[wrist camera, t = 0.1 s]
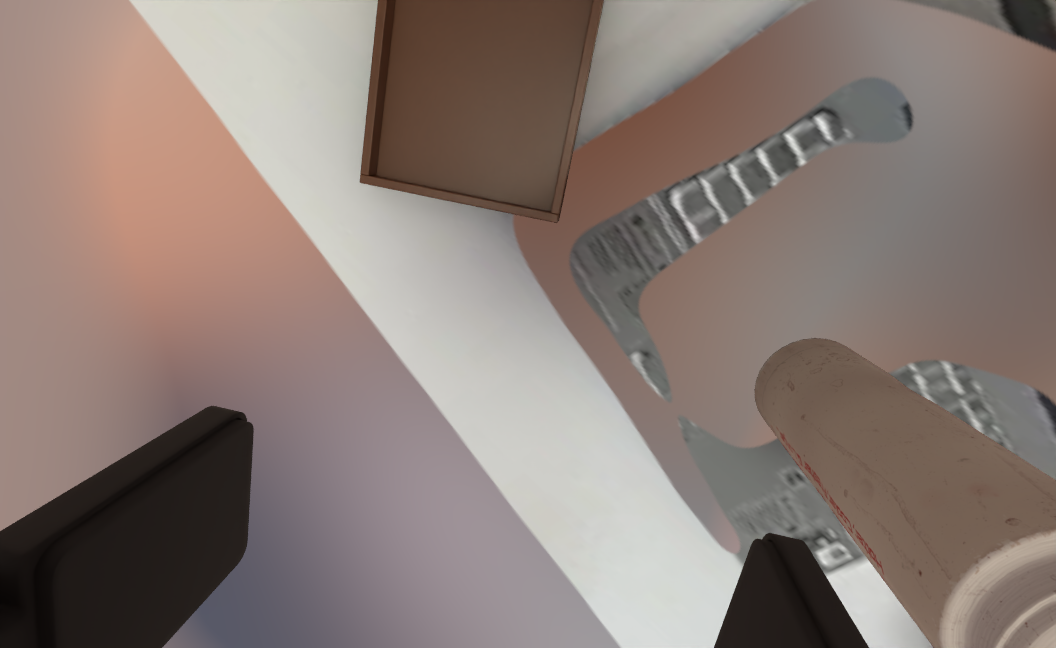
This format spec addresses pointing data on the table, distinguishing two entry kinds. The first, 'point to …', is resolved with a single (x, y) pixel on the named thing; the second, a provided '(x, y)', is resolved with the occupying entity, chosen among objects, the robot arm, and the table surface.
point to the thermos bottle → (921, 496)
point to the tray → (479, 100)
